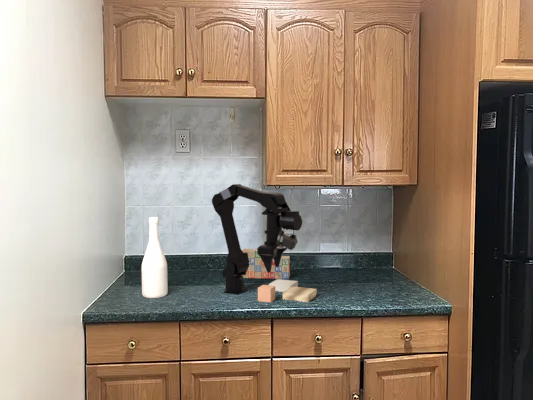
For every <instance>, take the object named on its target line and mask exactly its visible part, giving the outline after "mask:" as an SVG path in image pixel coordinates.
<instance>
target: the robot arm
mask: <svg viewBox="0 0 533 400" xmlns="http://www.w3.org/2000/svg"><path fill="white" fill-rule="evenodd" d="M239 197H241V198H245V199H248V200H251V201H254V202H257V203H259V204H260V206H262V207H263V208H265V210H263V211H262V212H261V215H264V216H266V226H265V227H266V230H264V234H265V236H266V237H265V241H263V242H264V243H263V244H261V245H259V246H258V247H257V248H256V249H257V254H259V256H260V257H261V259H262V261H263V263H264V265H265V268H266V270H267V272H269V273H270V272H271V267H272V261H273V259H274V263H275V266H276V267H279V264H280V261H281V257H282V256H283V254H284V252H286V251H287V250H290V251H293V250H294V249H295V247H296V246H297V244H298V238H297V235H296V234H294V233H292V234H291V235H287V234H285V231H284V230H291V231H299V230H300V229H301V228H302V225H303V219H302V216H301V215H300V211H299V210H291V208H290V206H289V204H288V202H287V201H286V197H285V196H284V194H282V193H280V192H266V191H265V192H264V191H261V190H259V189H255V188H252V187H248V186H245V185H242V184H240V183H237V184H236V183H234V184H233V183H232V184H231V185H230V186H229V187H227V188H225V189H223V190H221V191H220V192H219V193H215V194H214V195H213V197H212V198H211V203H212V207H213V210H214V211H215V213H217V215H218V216H219V218H220V222H221V225H222V226H221V227H222V230H223V235H224V239H225V243H226V246H227V251H228V253H227V257H226V267H225V268H224V269H223V270H222V271H221V275H222V278H225V290H223V293H226V294H227V293H228V294H235V295H236V294H237V295H240V294H241V293H243V292H244V291H246V289H245V279H244V278H243V276H242V275H246V272H247V270H248V267H249V262H250V261H249V259H248V254H247V252H245V253H244V252H243V251H242V250H243V249H241V244H240V241H239V237H238V232H237V229H236V228H237V227H236V223H235V219H234V215H233V213H234V209H235V201H237V200H238V198H239Z"/></svg>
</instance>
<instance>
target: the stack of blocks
mask: <svg viewBox="0 0 533 400" xmlns="http://www.w3.org/2000/svg"><path fill="white" fill-rule="evenodd" d="M241 250H242V251H243V252H244V253H245V252H247V254H248V259H249V261H250V262H249V267H248V270H247V272H246V275H242V276H243V279H244V278H245V279H270V280H271V279H272V280H273V279H275V280H277V279H282V280H290V276H291V272H290V271H291V264H290V263H291V258H290V257H291V256H290V255H282V257H281V261H280V264H279V267H276V266H275V263H274V259H273V261H272V267H271V272H270V273H269V272H267V270H266V268H265V265H264V263H263V261H262V259H261V257H260V256H259V254H257V248H243V249H241Z"/></svg>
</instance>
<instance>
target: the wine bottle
mask: <svg viewBox="0 0 533 400" xmlns="http://www.w3.org/2000/svg"><path fill="white" fill-rule="evenodd" d="M159 223H160V220H159V217H158V216H150V217H148V225H149V227H148V228H149V229H148V231H149V235H148V236H149V239H148V242H147V246H146V250H145V253H144V256H143V259H142V262H141V295H142V296H143V297H144V298H147V299H159V298H163V297H165V296H167V295H168V261H167V259H166V256H165V253H164V250H163V247H162V245H161V242H160V237H159Z"/></svg>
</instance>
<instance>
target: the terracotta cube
mask: <svg viewBox="0 0 533 400" xmlns="http://www.w3.org/2000/svg"><path fill="white" fill-rule="evenodd" d="M274 300H276V291H275V286H272V285H269V284H262V285H260V286H259V287H257V302H263V303H269V304H270V303H272V302H273V301H274Z"/></svg>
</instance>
